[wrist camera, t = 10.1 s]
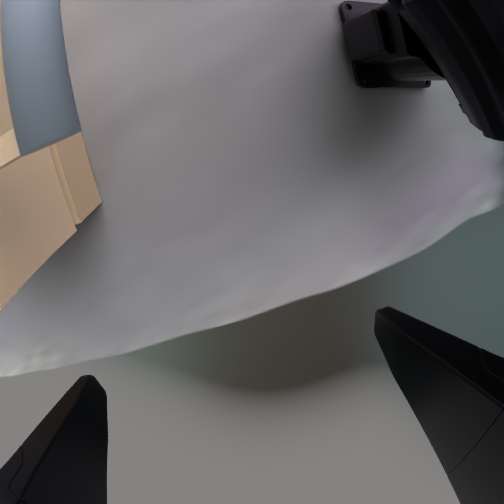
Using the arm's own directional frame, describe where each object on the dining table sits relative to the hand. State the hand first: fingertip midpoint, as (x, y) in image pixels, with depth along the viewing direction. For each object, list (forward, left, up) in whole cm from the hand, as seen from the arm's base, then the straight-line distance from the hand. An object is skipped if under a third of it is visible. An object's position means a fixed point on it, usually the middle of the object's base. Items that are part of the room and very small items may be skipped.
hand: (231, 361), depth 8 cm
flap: (+8, -12, -4) cm, 15 cm away
